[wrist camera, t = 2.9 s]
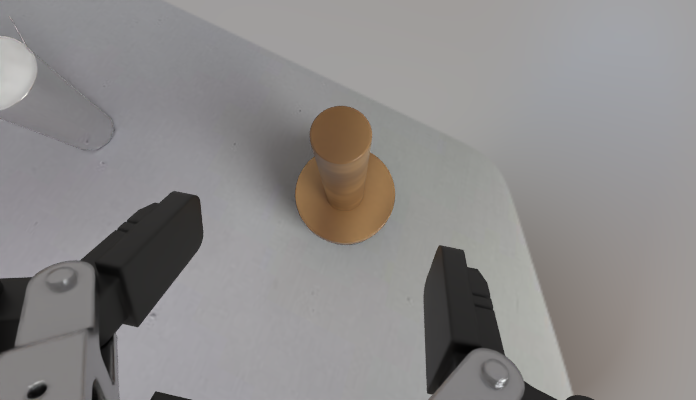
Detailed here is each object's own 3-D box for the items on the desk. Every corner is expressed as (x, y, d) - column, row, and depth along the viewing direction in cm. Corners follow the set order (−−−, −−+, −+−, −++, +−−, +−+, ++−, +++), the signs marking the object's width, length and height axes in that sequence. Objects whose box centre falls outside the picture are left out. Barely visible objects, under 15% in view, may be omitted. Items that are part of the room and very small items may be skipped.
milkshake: (143, 130, 28) (31, 49, 18) (81, 170, 27) (-69, 109, 17) (113, 88, 29) (-9, -11, 19) (53, 126, 28) (-106, 44, 18)
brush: (396, 171, 27) (436, 74, 14) (380, 256, 26) (409, 232, 13) (313, 155, 27) (279, 46, 15) (293, 237, 26) (237, 197, 13)
